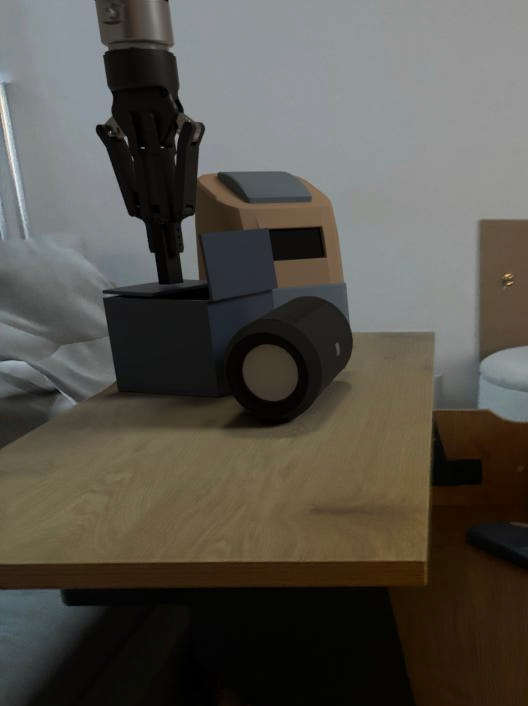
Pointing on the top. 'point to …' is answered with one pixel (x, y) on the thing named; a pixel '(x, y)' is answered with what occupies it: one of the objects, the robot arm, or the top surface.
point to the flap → (157, 288)
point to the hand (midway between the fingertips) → (171, 283)
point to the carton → (193, 319)
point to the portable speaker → (287, 357)
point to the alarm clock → (278, 229)
